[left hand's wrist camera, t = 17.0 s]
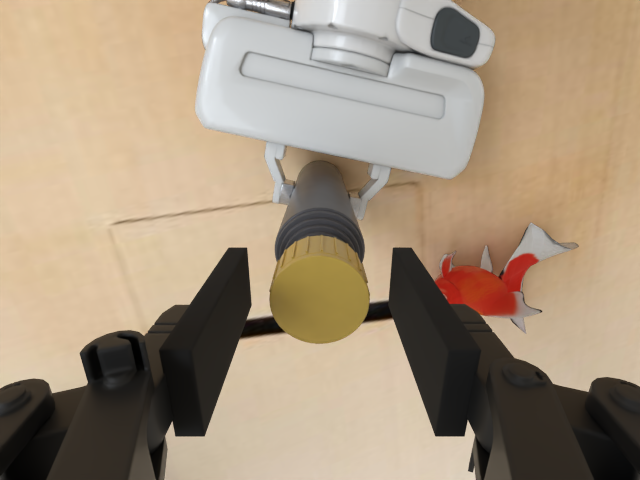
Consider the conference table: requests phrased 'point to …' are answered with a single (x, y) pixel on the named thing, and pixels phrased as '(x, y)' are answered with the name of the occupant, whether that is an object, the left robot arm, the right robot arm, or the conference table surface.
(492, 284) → the fish
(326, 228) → the bottle
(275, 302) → the cap
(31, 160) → the conference table surface
